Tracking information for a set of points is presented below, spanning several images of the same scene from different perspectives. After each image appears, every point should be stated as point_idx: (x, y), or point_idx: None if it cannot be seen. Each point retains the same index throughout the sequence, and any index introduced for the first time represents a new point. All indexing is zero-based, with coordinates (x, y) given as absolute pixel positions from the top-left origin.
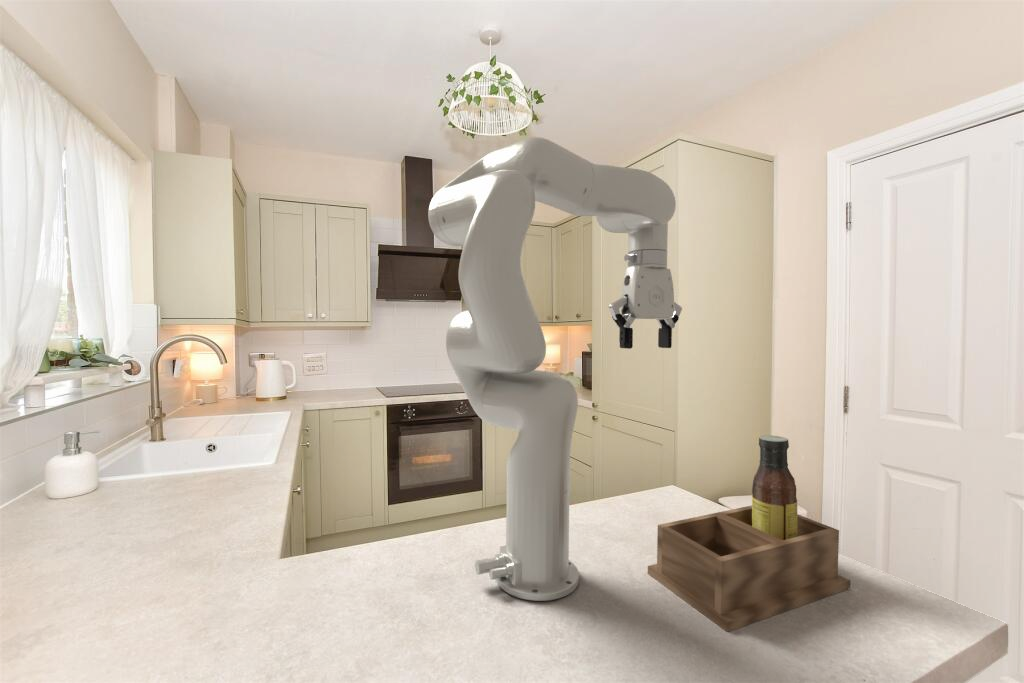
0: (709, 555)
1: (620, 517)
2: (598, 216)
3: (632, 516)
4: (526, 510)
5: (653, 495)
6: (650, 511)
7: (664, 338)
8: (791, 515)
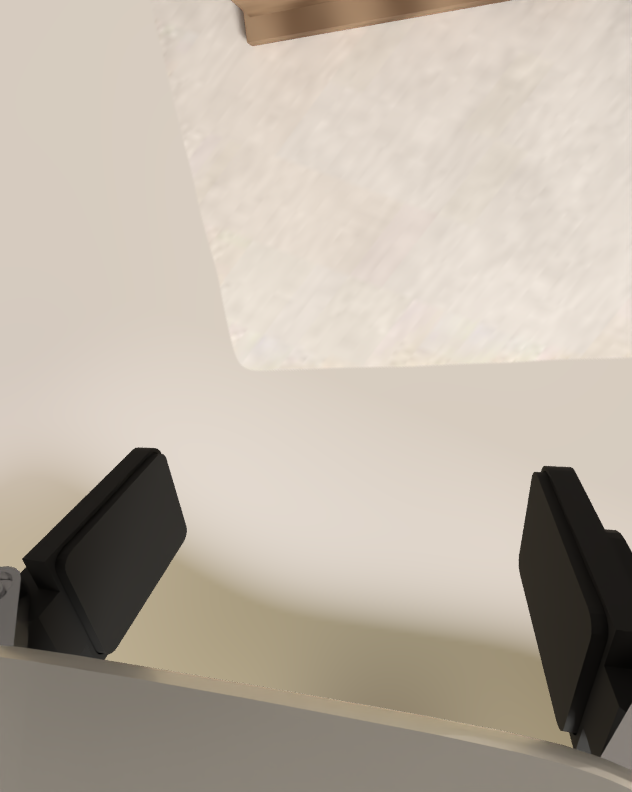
0: None
1: (441, 275)
2: None
3: (413, 271)
4: None
5: (298, 349)
6: (359, 280)
7: (136, 532)
8: None
